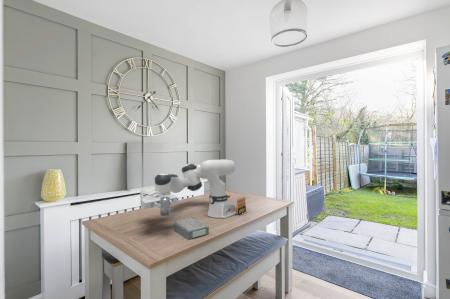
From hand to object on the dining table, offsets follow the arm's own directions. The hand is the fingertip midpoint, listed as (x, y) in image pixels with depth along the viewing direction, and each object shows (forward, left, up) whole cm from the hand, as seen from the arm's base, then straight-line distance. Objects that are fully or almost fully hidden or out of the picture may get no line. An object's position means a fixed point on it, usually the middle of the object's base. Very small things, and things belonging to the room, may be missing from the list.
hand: (165, 204), depth 128 cm
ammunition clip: (-59, -4, -17) cm, 62 cm away
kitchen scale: (-13, +4, -17) cm, 22 cm away
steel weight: (0, -1, -5) cm, 6 cm away
